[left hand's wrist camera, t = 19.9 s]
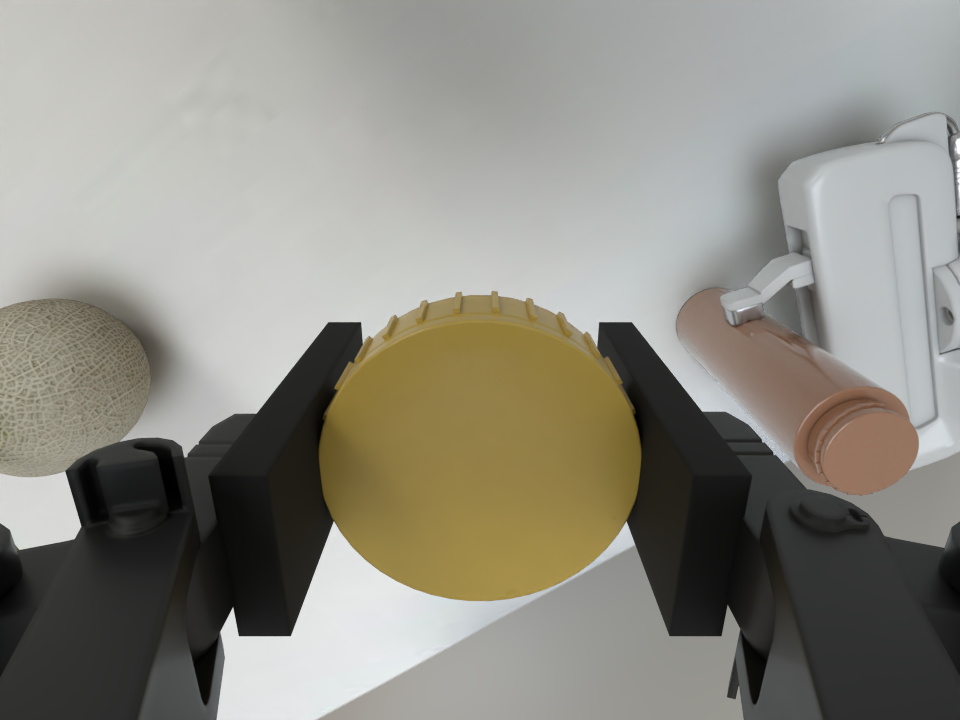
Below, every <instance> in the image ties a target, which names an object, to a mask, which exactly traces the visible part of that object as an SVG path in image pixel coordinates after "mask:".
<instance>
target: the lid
mask: <svg viewBox="0 0 960 720" xmlns="http://www.w3.org/2000/svg"><path fill="white" fill-rule="evenodd" d="M622 383H623V382H622V380H621V379H620V377H619V375H618V373H617V371H616V370H615V368H614V366H613V364H612V363H611V361H610V359H609V358H608V357H606V358H603V357H602V355H601V354H600V352H599V350H598V348H597V346H596V345H595V343H594V341H593V339H592V337H591V335H590V334H589V333H588V332H586V333H585V334H584V335H583V334H582V332H580V331H579V330H578V329H576V328H575V327H574V326H572V325H571V324H570V323H569V322H567V320H566V317H565V315H564V314H563V313H561V312H559V313H558V314H557V315H556V314H554V313H552V312H550V311H548V310H546V309H543V308H541V307H539V306H536V305H534V303H533V300H532V299H530V298H527V299H526V302H524V301H520V300H517V299H513V298H507V297H499V296H498V292H495V291H492V294H491V295H469V296H462V292H457V293H456V295H455V297H453V298H448V299H444V300H440V301H436V302H432V303H429V304H428V302H427V300H425V301H422V302H421V305H420V307H419V308H417V309H414V310H412V311H410V312H408V313H407V314H405V315H403V316H401V317H399V318H397V316H396V315H394V316H393V317H391V318H390V320H389V323H388V325H387V326H386V327H385V328H384V329H382V330H381V331H380V332H379V333H378V334H377V335H376V336H375V337H374V338H373V339H372V338H371V337H370V336H368V337H367V339H366V340H365V342H364V343H363V345H362V347H361V349H360V351H359V352H358V354H357V356H356V358H355V362H354V364H353V363H351V362H349V363H348V365H347V367H346V368H345V370H344V372H343V374H342V375H341V377H340V379H339V381H338V382H337V384H336V386H335V388H334V389H336V390H337V391H336V393H335V395H334V397H333V399H332V401H331V402H330V404H329V406H328V408H327V410H326V412H325V413H324V416H323V420H325V421H324V424H323V427H322V432H321V437H320V442H319V464H320V473H321V482H322V490H323V496H324V500H325V502H326V505H327V507H328V509H329V512H330V514H331V516H332V518H333V520H334V522H335V523H336V525H337V527H338V528H339V530H340V532H341V533H342V535H343V536H344V537H345V538H346V540H347V541H348V542H349V543H350V545H351V546H352V547H353V548H354V549H355V550H356V551H357V552H358V553H359V554H360V555H361V556H362V557H363V558H364V559H365V560H366V561H367V562H369V563H370V564H371V565H373V566H374V567H375V568H377V569H378V570H379V571H381V572H382V573H384V574H386V575H387V576H389V577H391V578H392V579H394V580H396V581H398V582H400V583H402V584H404V585H406V586H409V587H411V588H413V589H416V590H419V591H422V592H425V593H428V594H431V595H435V596H440V597H444V598H449V599H457V600H466V601H494V600H504V599H511V598H516V597H521V596H526V595H529V594H532V593H535V592H539V591H542V590H545V589H547V588H549V587H552V586H554V585H556V584H559V583H561V582H563V581H565V580H566V579H568V578H570V577H571V576H573V575H575V574H577V573H578V572H580V571H581V570H582V569H584V568H585V567H586V566H588V565H589V564H590V563H592V562H593V561H594V560H595V559H596V558H597V557H598V556H599V555H600V554H601V553H603V552H604V551H605V550H606V549H607V547H608V546H609V545H610V544H611V543H612V541H613V540H614V539H615V538H616V536H617V535H618V534H619V532H620V531H621V529H622V527H623V526H624V524H625V522H626V521H627V519H628V517H629V515H630V512H631V510H632V508H633V506H634V503H635V500H636V497H637V493H638V485H639V477H640V468H641V458H642V446H641V440H640V435H639V430H638V426H637V423H636V420H635V418H634V415H633V414H636V411H635V408H634V407H633V405H632V403H631V401H630V399H629V398H628V396H627V394H626V392H625V390H624V388H623V387H622V385H620V384H622Z"/></svg>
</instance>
